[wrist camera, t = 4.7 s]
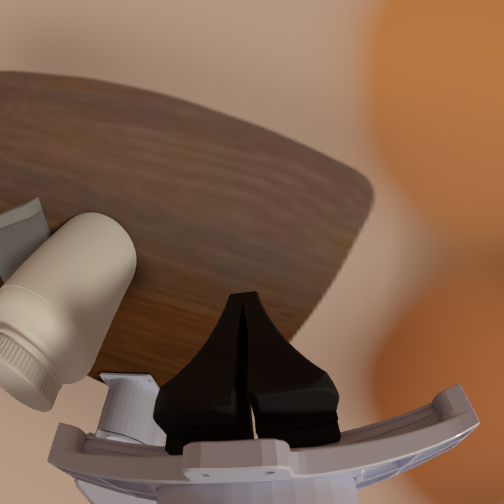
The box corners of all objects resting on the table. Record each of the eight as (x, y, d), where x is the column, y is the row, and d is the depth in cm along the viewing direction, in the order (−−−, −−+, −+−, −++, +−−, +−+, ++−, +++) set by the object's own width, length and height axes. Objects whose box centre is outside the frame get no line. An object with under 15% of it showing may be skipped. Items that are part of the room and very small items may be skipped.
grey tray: (85, 310, 25) (78, 322, 24) (24, 313, 26) (17, 322, 24) (38, 196, 19) (26, 204, 17) (-19, 221, 19) (-29, 228, 18)
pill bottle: (76, 285, 24) (6, 404, 11) (57, 211, 20) (-56, 317, 7) (145, 290, 24) (93, 437, 11) (132, 208, 20) (23, 347, 7)
